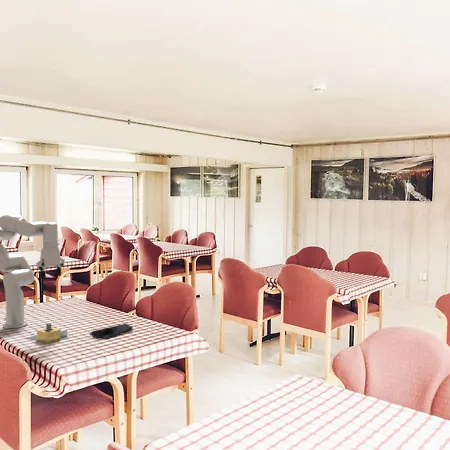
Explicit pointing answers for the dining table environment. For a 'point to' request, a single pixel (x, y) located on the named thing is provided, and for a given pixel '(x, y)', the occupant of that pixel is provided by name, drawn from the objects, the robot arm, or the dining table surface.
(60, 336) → the square hole fixture
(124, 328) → the dark slate chunk
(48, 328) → the grey metal peg
